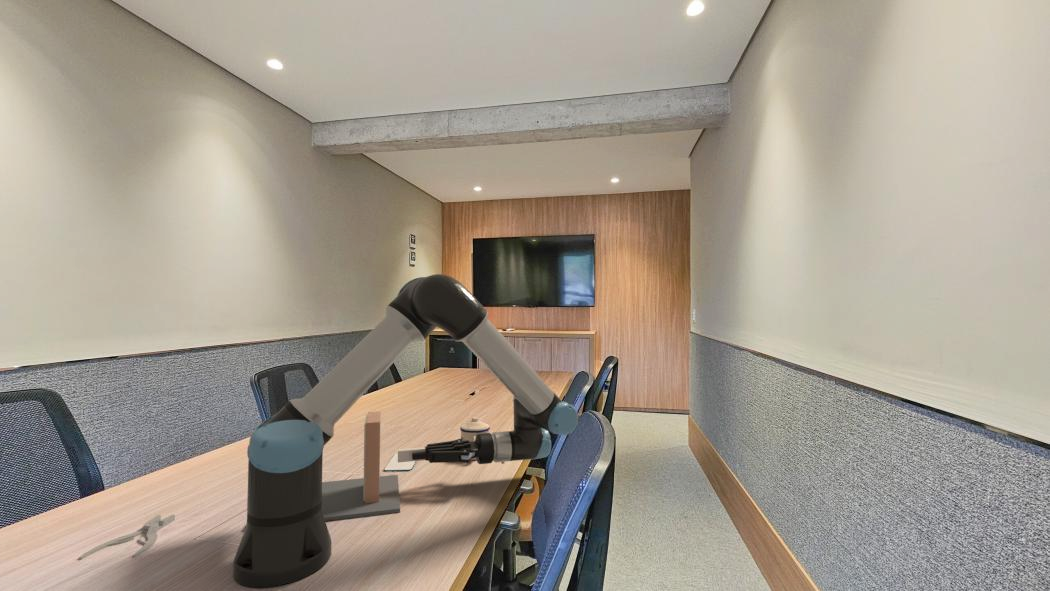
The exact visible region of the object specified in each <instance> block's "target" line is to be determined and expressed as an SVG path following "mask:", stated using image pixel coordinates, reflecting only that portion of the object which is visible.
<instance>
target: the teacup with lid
mask: <svg viewBox="0 0 1050 591" xmlns="http://www.w3.org/2000/svg"><path fill="white" fill-rule="evenodd" d="M490 429H491V428H490V425H489V424H488V423H486V422H483V421H481V420H480V419H479V417H478V416H474V417H472V418H471V420H470V421H468V422H466V423H464V424H462V425H461V426H460V439H462V441H463V440H469V441H470V442H474V441H475V440H476V435H477V434H481V433H490ZM470 461H477V460H476V458H471V459H470Z"/></svg>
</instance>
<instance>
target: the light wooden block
mask: <svg viewBox="0 0 1050 591" xmlns="http://www.w3.org/2000/svg"><path fill="white" fill-rule="evenodd" d="M381 413H382V412H381V410H380V411H368V412H367V413H366V415H365V419H364V420H365V421H364V428H363V429H364V433H363V434H364V435H363V436H364V438H363V440H364V441H363V478H364V487H363V501H365V503H374V502H379V488H380V476H381V472H380V471H381V424H382V423H381V415H382V414H381Z"/></svg>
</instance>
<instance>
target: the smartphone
mask: <svg viewBox="0 0 1050 591" xmlns="http://www.w3.org/2000/svg"><path fill="white" fill-rule="evenodd" d="M415 463H416V464H417V462H416V461H409V462H399V463H398V451H397V452H395V453H394V454H393V455H392V456H391V459H390V460H389V462H388V463H387V464H386V466H385V467H384V468H383V472H385V471H392V472H394V471H397V472H411V471H410V470H412V469H414V468H415V466H416V464H415ZM414 465H415V466H414ZM413 467H414V468H413ZM412 471H413V470H412Z"/></svg>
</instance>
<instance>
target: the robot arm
mask: <svg viewBox="0 0 1050 591" xmlns="http://www.w3.org/2000/svg"><path fill="white" fill-rule="evenodd" d="M488 313H489V312H488V310H487V309H486V308H485V307H484V305H483V304H482V303H480V301H479V300H478V299H477V298H476V296H474V295H473V294H472V292H471V291H470V290H469V289H468V288H467V287H466V286H465V285H463V283H462V282H460V281H458V280H457V279H455V278H454V277H452V276H450V275H447V274H443V273H442V274H441V273H436V274H431V275H427V276H421V277H416V278H414V279H411V280H409V281H408V282H406V283H405V284H404V285H403V286H402V287H401V289H400V290H399V291H398V293H397V296H396V297H395V298H394V299H393V300H391V302H390V303H389V304H388V305H387V306H386V307H385V317H384V318H383V319H382V320H381V321H380V322H379V323H378V324H377V325H376V326H375V327H374V328H373V329H372V330H371V331H369V333H368V334H367V335H366V336H364V338H363V339H362V340H360V341H359V342H358V344H357V345H355V347H353V349H351V350H350V351H349V352H348V353H347V354H346V355H345V356H344V357H343V358H342V359H341V360H340V361H339V362H337V364H336V365H335V366H334V367H333V368H332V369H331V370H330V371H329V372H327V374H326V375H325V376H324V377H323V378H322V379H321V380H319V382H318V383H317V384H316V385H315V386H313V388H311V389H310V390H309V392H308V393H307V394H305V396H303V397H300V398H292V399H290V400H289V401H288V402H287V403H286V404H285V405H284V406H283V407H281V409H280V410H279V411H277V412H276V414H274V415H272V416H270V417H268V418H266V419H265V420H263V421H262V422H261V423H260V424H259V425H257V427H256V429H255V430H254V431H253V433H252V434H251V435H250V438H249V444H248V446H247V453H246V454H247V458H248V467H247V468H248V469H247V499H246V500H247V507H246V511H247V512H246V525H245V527H246V528H244V531H243V534H242V537H241V539H240V542H239V545H238V548H237V550H236V553H235V556H234V559H233V572H232V576H233V579H234V580H235V581H236V583H238V584H240V585H242V586H245V587H249V588H250V587H251V588H268V587H276V586H282V585H285V584H290V583H292V582H295V581H298V580H299V581H300V580H301V579H304V578H306V577H307V576H310V575H312V574H313V573H316V572H317V571H318V570H319V569H321V568H322V567H323V566H325V565H326V564H327V563H328V561H329V560H330V558H331V556H332V538H331V535H330V532H329V529H328V525H327V523H326V522H327V521H325V519H324V517H323V514H322V482H323V453H324V448H325V445H326V444H327V443H329V441H330V440H331V439H332V438H333V437H334V435H335V434H334V433H335V425H336V424H337V422H339V420H341V418H342V417H343V416H344V415H345V414H346V413H347V412H348V411H350V410H349V409H351V407H352V406H354V405H355V404H356V403H357V401H359V399H361V398H362V396H363V395H364V394H366V392H367V391H368V390H369V389H370V388H371V387H372V385H374V384H375V383H376V382H377V381H378V380H379V379H380V378H381V377H382V375H383V374H384V373H385V372H386V371H387V370H388V369H389V368H390V367H391V366H392V365H393V364H394V363H395V362H396V360H398V358H400V357H401V355H403V353H405V351H407V349H408V348H410V346H412V344H413V343H417V342H419V343H420V342H424V341H425V340H426V339H427V337H429V335H430V334H431V333H433V331H434V330H436V328H438V329H441V331H444V333H446V334H447V335H448V336H450V337H451V338H452V339H453V340H454V341H455V342H462V343H463V344H464V345H465V347H467V348H468V350H470V351H471V353H473V355H475V357H477V359H479V361H480V362H481V363H482V365H484V366H485V367H486V368H487V369H488V370H489V371H490V372H491V374H493V376H494V377H496V379H497V380H498V381H499V382H500V383H501V384H502V385H503V386H504V387H505V388H506V390H508V391H509V392H510V393H511V395H512V396H513V399H512V402H513V430H511V431H509V430H508V431H493V433H490V432H489V433H481V434H477V435H476V440H475V441H474V442H470V441H469V440H463V441H462V439H461V438H458V439H454V440H453V439H452V440H447V441H441V442H440V441H439V442H434V443H428V444H426V446H424V447H414V448H413V447H412V448H410V447H409V448H400V449H397V452H398V463H399V462H409V461H417V462H418V461H419V462H420V461H427V462H428V463H429V464H433V463H434V464H437V463H440V464H441V463H465V464H469V463H470V462H471V460H470V459H471V458H476V460H475V461H476V462H477V464H479V465H487V464H492V463H493V462H494V463H501V464H502V465H503V464H505V462H514V461H515V462H516V461H526V460H529V461H530V460H532V461H533V460H534V461H535V460H536V459H538V460H539V459H543V458H547V457H548V456H549V455H550V453H551V450H552V440H551V435H550V433H551V434H553V435H559V436H567V435H569V434H571V433H572V432H573V431H574V430H575V429H576V427H577V425H578V422H579V421H578V420H579V415H578V411H577V409H576V407H574V406H573V404H570V403H568V402H566V401H563V400H562V399H561V398H560V397H559V396H558V395H557V394H556V393H555V392H554V391H553V390H552V389H551V388H550V386H549V385H547V383H546V382H545V381H544V380H543V379H542V378H541V377H540V375H539V374H538V373H537V372H536V371H535V370H534V369H533V368H532V366H531V365H530V364H529V363H528V362H527V361H526V360H525V359H524V358H523V357H522V355H521V354H520V353H519V352H518V351H517V350H516V348H515V347H514V346H513V345H512V343H510V342H509V340H507V338H506V337H505V336H504V335H503V333H502V332H500V331H499V329H498V328H496V326H495V325H494V324H493V323H492V322H491V320H490V319H489V318H488V316H489V314H488Z"/></svg>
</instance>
